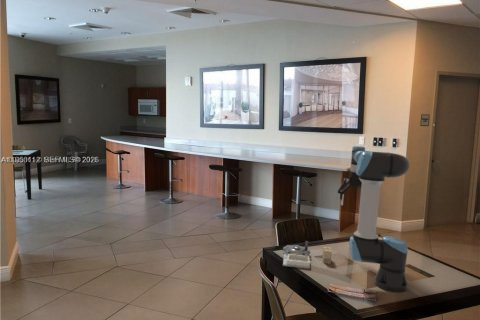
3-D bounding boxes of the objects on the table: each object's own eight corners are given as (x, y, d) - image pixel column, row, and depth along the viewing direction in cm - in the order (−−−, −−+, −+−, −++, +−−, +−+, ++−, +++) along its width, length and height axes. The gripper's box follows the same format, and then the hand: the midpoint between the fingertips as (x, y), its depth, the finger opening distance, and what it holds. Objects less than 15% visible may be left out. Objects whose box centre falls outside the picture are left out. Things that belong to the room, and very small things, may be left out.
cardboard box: (330, 263, 212) (331, 251, 211) (323, 263, 212) (324, 250, 212) (329, 259, 219) (330, 247, 218) (322, 258, 219) (323, 246, 219)
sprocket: (310, 258, 215) (311, 246, 214) (282, 255, 217) (283, 243, 216) (309, 249, 230) (310, 238, 230) (283, 246, 232) (284, 235, 232)
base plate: (309, 268, 202) (309, 263, 202) (282, 265, 204) (283, 260, 204) (307, 250, 232) (308, 245, 231) (284, 247, 234) (285, 243, 233)
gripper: (376, 172, 235) (373, 206, 237) (335, 169, 239) (332, 202, 241) (379, 174, 228) (375, 209, 230) (336, 170, 231) (333, 205, 233)
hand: (353, 205), depth 235 cm, fingers open, 13 cm apart
